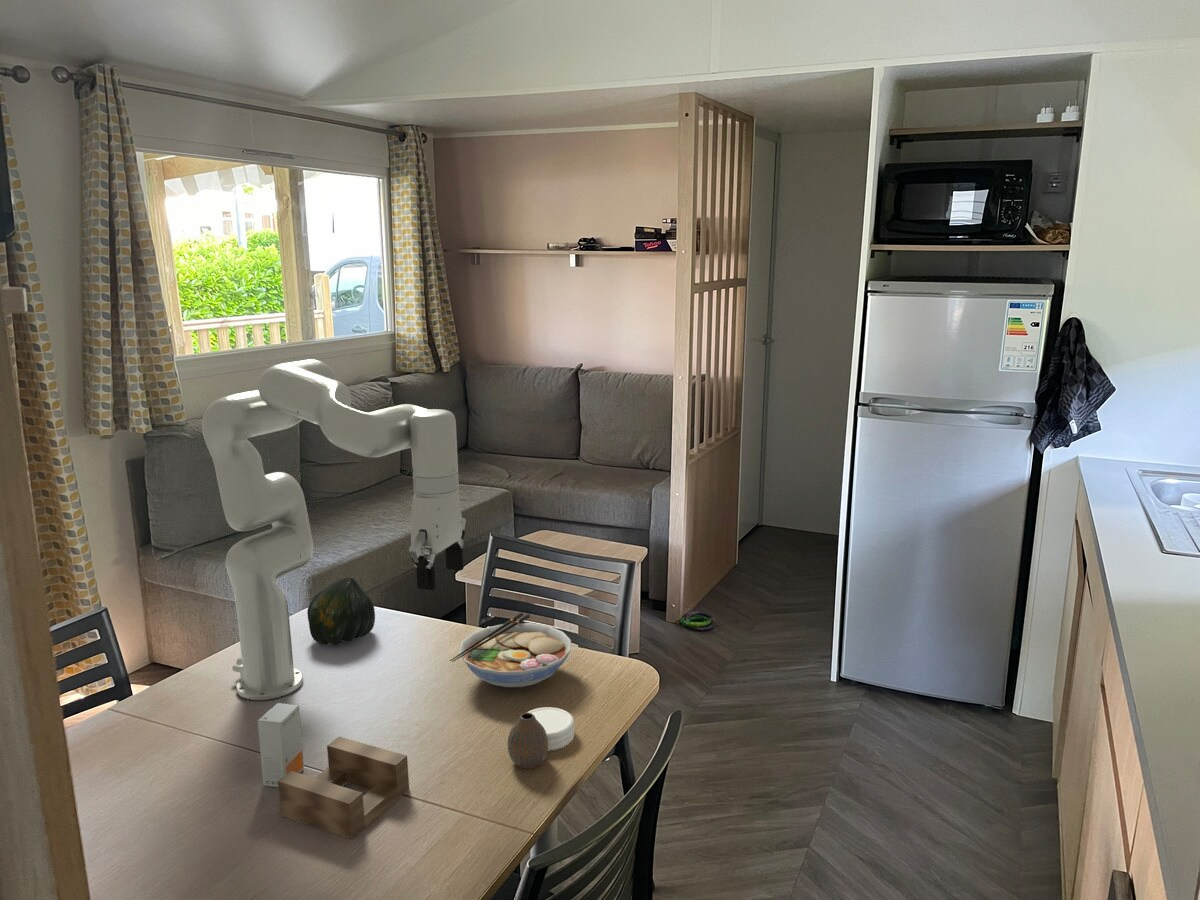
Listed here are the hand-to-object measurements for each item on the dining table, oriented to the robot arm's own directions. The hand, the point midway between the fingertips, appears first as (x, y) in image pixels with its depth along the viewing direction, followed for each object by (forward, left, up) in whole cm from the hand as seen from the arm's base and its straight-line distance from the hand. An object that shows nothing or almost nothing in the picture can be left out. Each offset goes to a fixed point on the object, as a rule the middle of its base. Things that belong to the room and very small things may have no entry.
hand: (441, 578), depth 154 cm
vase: (+17, -1, -31) cm, 35 cm away
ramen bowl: (0, +24, -31) cm, 39 cm away
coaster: (+16, +8, -31) cm, 35 cm away
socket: (-4, -23, -30) cm, 38 cm away
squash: (-46, +25, -31) cm, 61 cm away
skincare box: (-18, -22, -31) cm, 42 cm away
